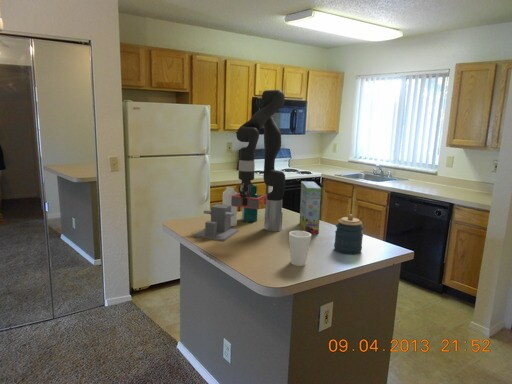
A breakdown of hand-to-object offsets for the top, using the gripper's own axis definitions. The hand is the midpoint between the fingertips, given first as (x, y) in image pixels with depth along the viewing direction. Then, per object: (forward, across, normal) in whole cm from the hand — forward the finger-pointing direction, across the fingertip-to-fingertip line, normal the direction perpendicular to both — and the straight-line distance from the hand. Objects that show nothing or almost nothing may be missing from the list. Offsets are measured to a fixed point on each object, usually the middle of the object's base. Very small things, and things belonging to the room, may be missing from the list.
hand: (245, 205), depth 184 cm
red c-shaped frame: (+1, +6, 0) cm, 6 cm away
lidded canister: (+19, +11, -49) cm, 54 cm away
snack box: (+19, +40, -24) cm, 50 cm away
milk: (+19, +26, +19) cm, 37 cm away
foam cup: (+19, -16, -31) cm, 40 cm away
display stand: (+19, +7, +18) cm, 27 cm away
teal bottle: (+19, +41, +12) cm, 47 cm away
